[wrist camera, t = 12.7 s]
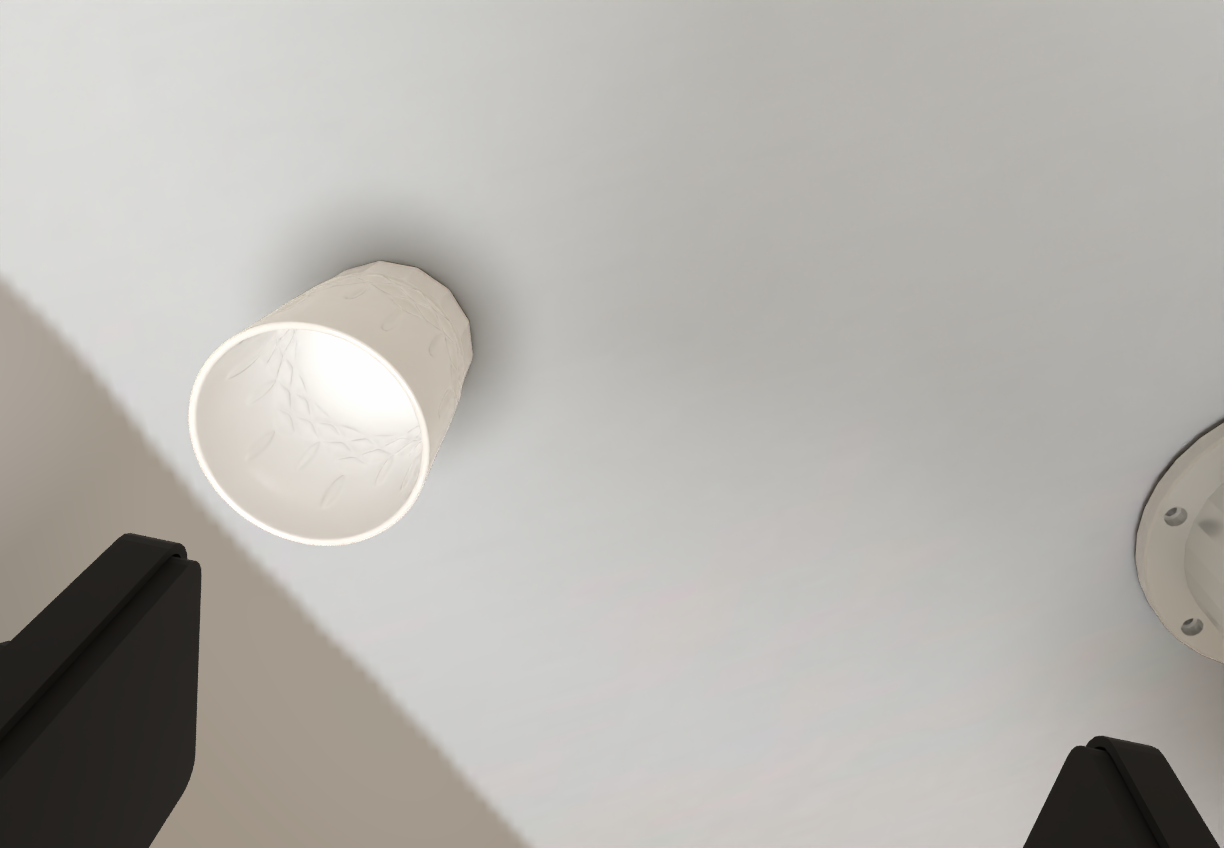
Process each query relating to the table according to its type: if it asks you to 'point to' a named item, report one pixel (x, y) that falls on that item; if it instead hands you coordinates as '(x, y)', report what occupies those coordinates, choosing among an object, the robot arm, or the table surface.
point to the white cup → (333, 404)
